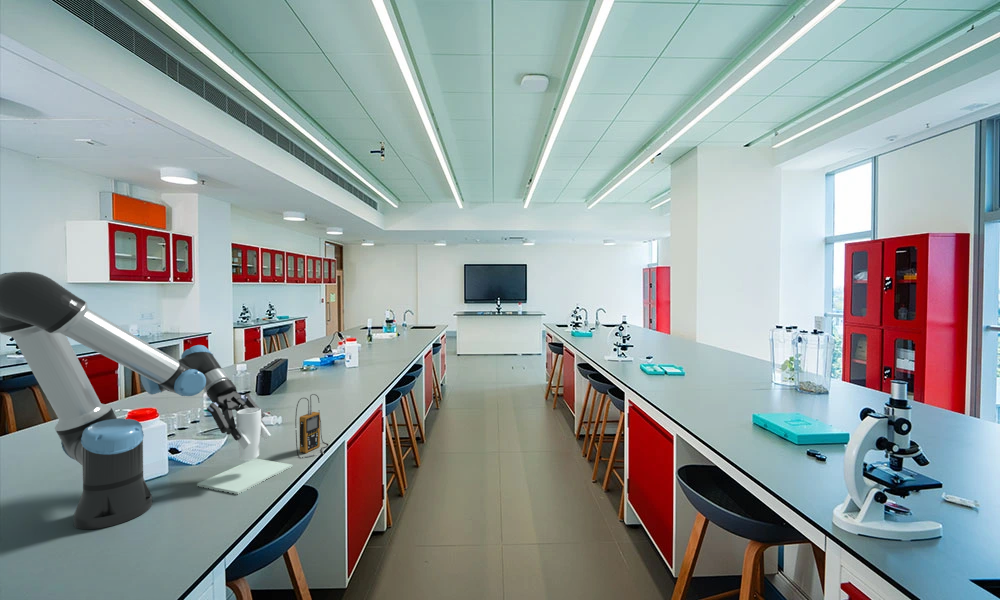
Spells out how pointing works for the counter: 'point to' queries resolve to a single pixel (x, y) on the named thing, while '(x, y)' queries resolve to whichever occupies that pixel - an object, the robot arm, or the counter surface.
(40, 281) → the robot arm
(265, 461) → the mat
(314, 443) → the multimeter
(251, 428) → the white cup
